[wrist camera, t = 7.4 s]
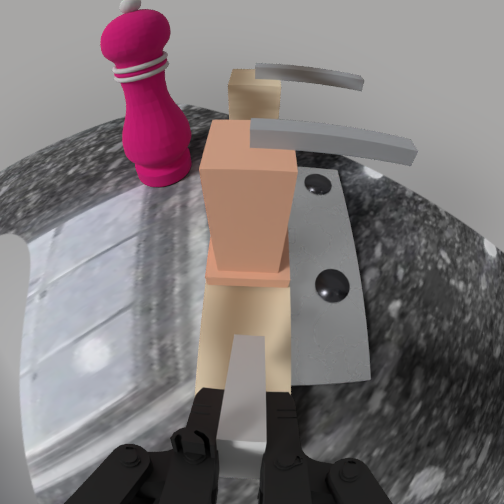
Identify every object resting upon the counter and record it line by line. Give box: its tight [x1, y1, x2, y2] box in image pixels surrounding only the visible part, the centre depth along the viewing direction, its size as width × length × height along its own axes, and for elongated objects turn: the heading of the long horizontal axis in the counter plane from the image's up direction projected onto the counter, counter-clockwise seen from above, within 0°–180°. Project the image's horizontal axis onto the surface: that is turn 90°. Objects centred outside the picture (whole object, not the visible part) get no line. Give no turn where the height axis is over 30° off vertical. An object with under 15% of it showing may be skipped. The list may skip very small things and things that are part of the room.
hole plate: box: [288, 167, 371, 386], centre depth 22 cm, size 6×21×1 cm, turn 178°
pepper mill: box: [100, 0, 192, 187], centre depth 20 cm, size 7×7×20 cm
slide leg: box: [199, 118, 418, 288], centre depth 15 cm, size 11×5×11 cm, turn 88°
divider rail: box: [195, 63, 364, 395], centre depth 16 cm, size 11×26×13 cm, turn 178°
